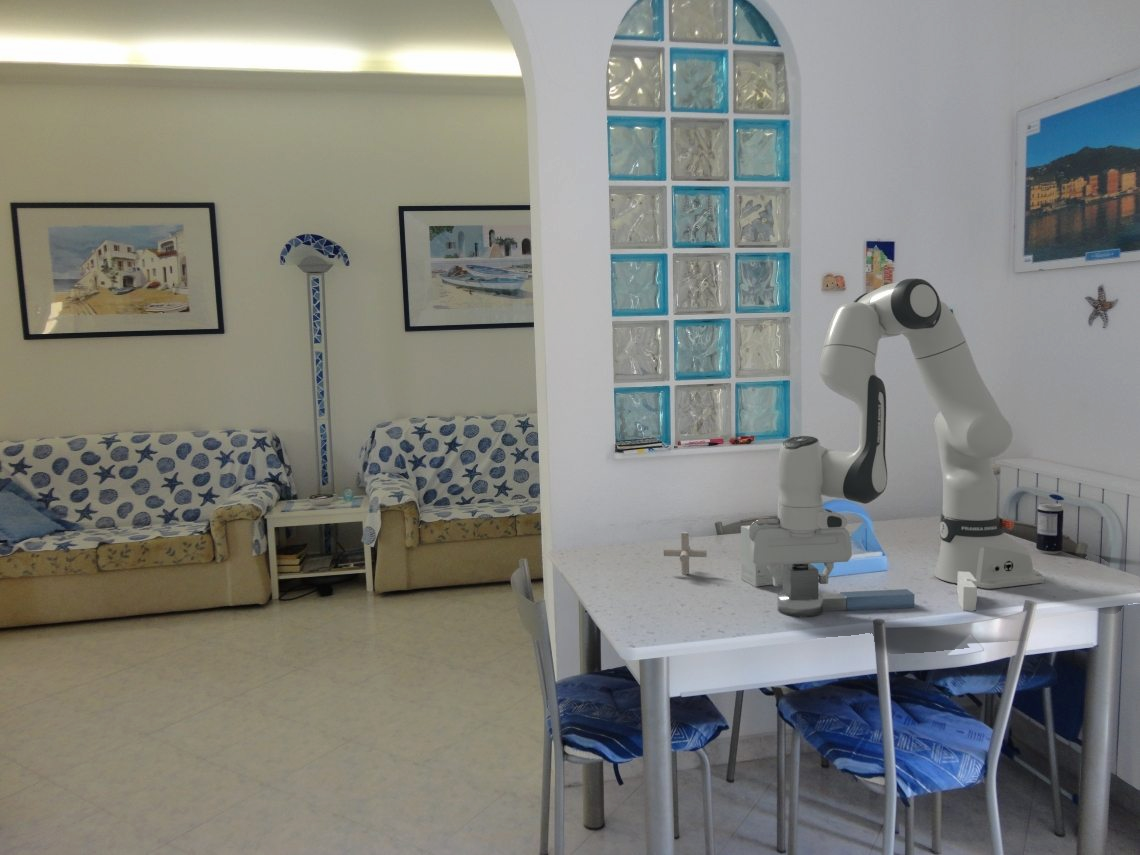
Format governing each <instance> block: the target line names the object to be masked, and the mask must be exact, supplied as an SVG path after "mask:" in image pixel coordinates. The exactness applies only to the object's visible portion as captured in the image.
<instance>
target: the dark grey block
mask: <svg viewBox="0 0 1140 855" xmlns="http://www.w3.org/2000/svg"><path fill="white" fill-rule="evenodd" d="M818 574H819V569H818V568H816V567H815V565H813V563H809V564H787V565H783V584H782V591H783V593H784V594H785V595H786V596H787V597H788V598H789V599H790V600H810V599H818V593H819V582H818V579H819V577H818Z"/></svg>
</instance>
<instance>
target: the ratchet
mask: <svg viewBox="0 0 1140 855" xmlns="http://www.w3.org/2000/svg"><path fill="white" fill-rule="evenodd" d="M915 597H916V596H915V593H913V592H912V591H911V590H909V589H907V588H902V589H883V590H880V589H879V590H878V589H877V590H859V591H841V592H839V593H824V594H823V593H820V592H818V599H810V600H790V599H789V598H788V597H787V596H786V595H785V594H784V593H783V590H781V591H779V592H778V593H777V611H778V612H779V614H780V613H781V614H782V615H785V616H789V617H795V618H815V617H819V616H820V615H822V614H823V613H824V612H823V611H825V612H842V611H845V610H846V612H849V611H851V612H852V611H871V610H875V611H876V610H891V609H912V608H915Z"/></svg>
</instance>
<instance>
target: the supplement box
mask: <svg viewBox="0 0 1140 855" xmlns="http://www.w3.org/2000/svg"><path fill="white" fill-rule="evenodd" d="M750 525H751V524H750ZM750 525H749V524H748V525H741V526H740V579H741V580H743V581H744V582H745V583H748V584H749V585H751V586H753V587H755V588H758V587H762V586H771V585H772V586H774V585H773V576H772V575H771V573H770V572H769V570H768V568H767V565H765V566H757V565H755V564H754V563H753V562H752V561H751V559H750V544H751V539H750V536H749V528H750ZM774 571H775V573H776V575H777V576H781V577H782V585H783V565H777V570H774Z"/></svg>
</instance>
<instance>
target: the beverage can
mask: <svg viewBox="0 0 1140 855" xmlns="http://www.w3.org/2000/svg"><path fill="white" fill-rule="evenodd" d="M1038 505H1039V506H1038V507H1037V509H1036V538H1035V539H1036V542H1035V547H1036V549H1037V550H1038V551H1039V552H1040V553H1042V554H1047V555H1057V554H1059V553H1060V552H1061V551H1062V550H1063V537H1064V536H1063V535H1064V534H1063V533H1064V509H1063V506H1062V504H1061V503H1058V502H1057V503H1056V502H1040V503H1039V504H1038Z"/></svg>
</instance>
